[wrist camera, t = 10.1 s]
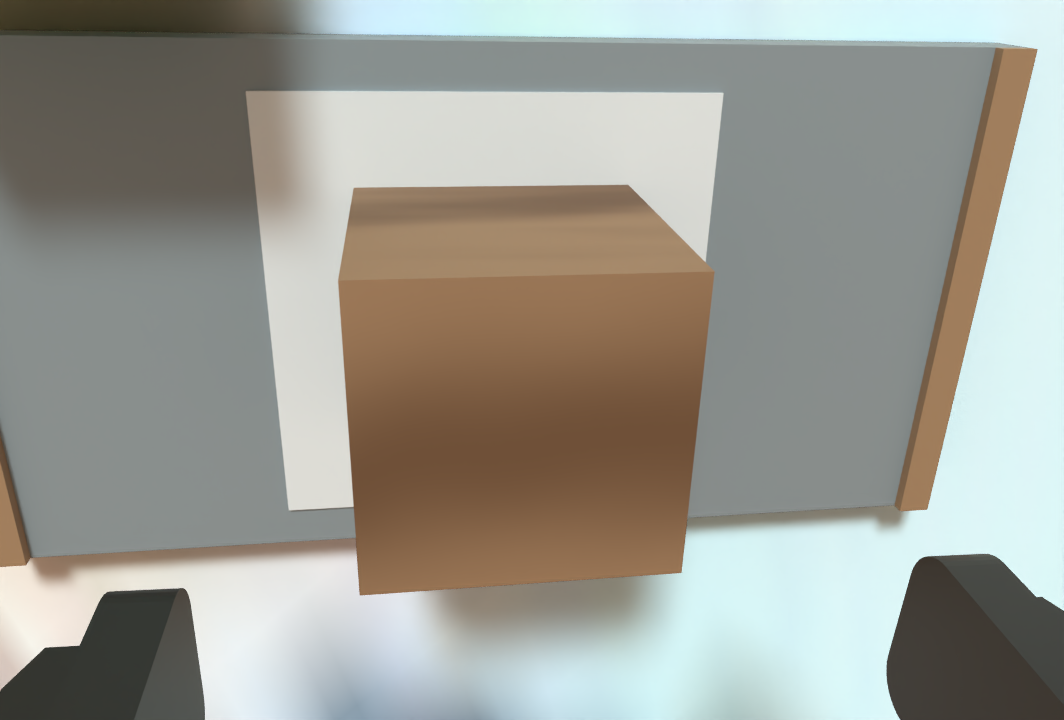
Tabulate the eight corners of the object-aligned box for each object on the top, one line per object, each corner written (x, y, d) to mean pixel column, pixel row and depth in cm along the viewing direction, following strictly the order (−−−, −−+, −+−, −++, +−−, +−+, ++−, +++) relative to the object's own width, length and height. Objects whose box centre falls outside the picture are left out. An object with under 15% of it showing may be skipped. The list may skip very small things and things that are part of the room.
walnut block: (353, 187, 19) (337, 280, 14) (628, 184, 20) (714, 271, 15) (368, 434, 22) (359, 595, 16) (612, 423, 23) (680, 572, 17)
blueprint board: (-114, 28, 18) (-155, 34, 17) (996, 42, 21) (1037, 49, 20) (14, 531, 23) (-10, 567, 22) (899, 480, 26) (927, 509, 25)
